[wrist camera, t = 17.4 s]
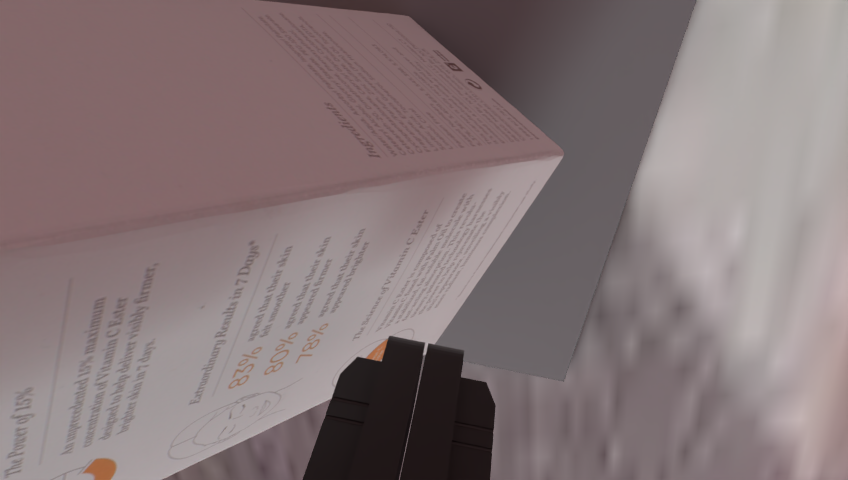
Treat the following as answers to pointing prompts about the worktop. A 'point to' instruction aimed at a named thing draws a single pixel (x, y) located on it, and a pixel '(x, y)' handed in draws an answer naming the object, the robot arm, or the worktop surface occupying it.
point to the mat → (573, 132)
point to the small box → (228, 217)
